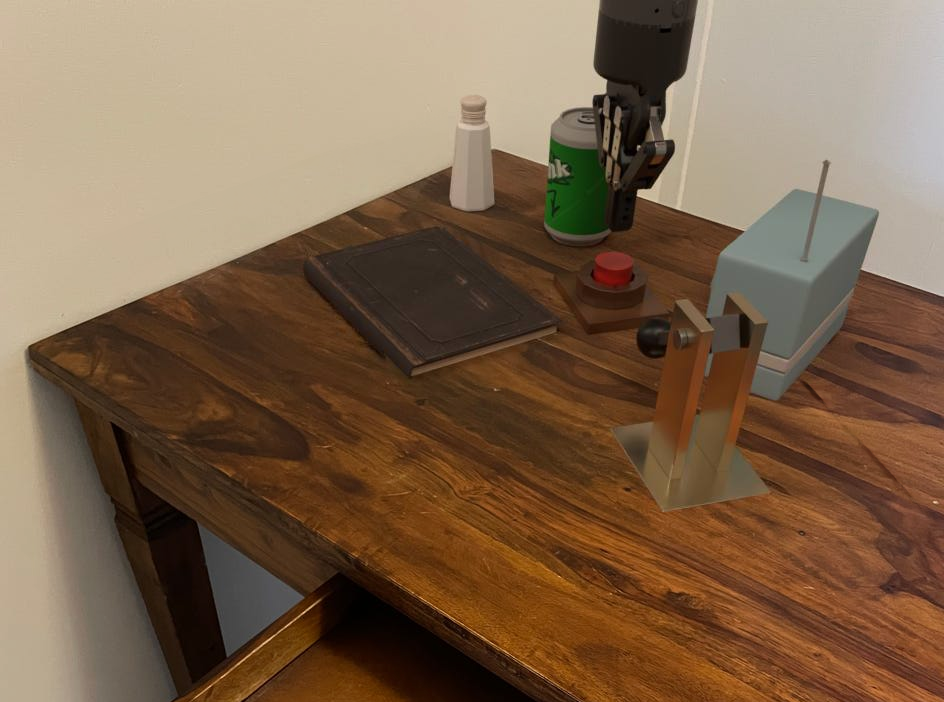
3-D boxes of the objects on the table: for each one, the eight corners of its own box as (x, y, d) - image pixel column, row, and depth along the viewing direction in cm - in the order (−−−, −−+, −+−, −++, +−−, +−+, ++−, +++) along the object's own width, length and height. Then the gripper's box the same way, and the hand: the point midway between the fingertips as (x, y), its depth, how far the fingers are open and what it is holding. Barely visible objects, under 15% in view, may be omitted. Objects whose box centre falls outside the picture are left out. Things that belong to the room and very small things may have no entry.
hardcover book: (440, 245, 102) (440, 224, 100) (560, 343, 89) (562, 320, 87) (304, 280, 97) (301, 258, 95) (410, 389, 83) (409, 366, 82)
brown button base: (552, 294, 95) (555, 255, 92) (626, 285, 97) (631, 246, 94) (586, 345, 89) (591, 305, 86) (665, 334, 90) (672, 294, 87)
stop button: (587, 271, 91) (589, 253, 89) (622, 267, 91) (625, 249, 90) (601, 289, 88) (603, 271, 87) (636, 284, 89) (639, 266, 88)
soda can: (615, 224, 106) (630, 107, 97) (606, 254, 101) (621, 134, 92) (549, 217, 107) (557, 101, 98) (537, 246, 102) (545, 127, 93)
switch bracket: (607, 439, 79) (630, 281, 68) (707, 424, 80) (744, 267, 70) (660, 523, 71) (694, 360, 61) (768, 504, 73) (819, 342, 63)
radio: (752, 307, 94) (807, 84, 79) (840, 335, 90) (915, 107, 76) (679, 379, 85) (727, 142, 70) (774, 412, 81) (844, 171, 67)
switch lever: (631, 361, 78) (628, 320, 77) (667, 356, 79) (665, 315, 78) (705, 360, 66) (703, 312, 65) (747, 354, 66) (745, 306, 65)
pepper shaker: (504, 206, 109) (508, 101, 101) (463, 216, 107) (464, 110, 99) (480, 189, 112) (482, 86, 104) (440, 198, 110) (439, 94, 102)
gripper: (573, -15, 77) (554, 202, 90) (635, 33, 68) (605, 265, 81) (658, -19, 78) (628, 194, 91) (729, 27, 70) (685, 256, 83)
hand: (617, 227), depth 86 cm, fingers closed
